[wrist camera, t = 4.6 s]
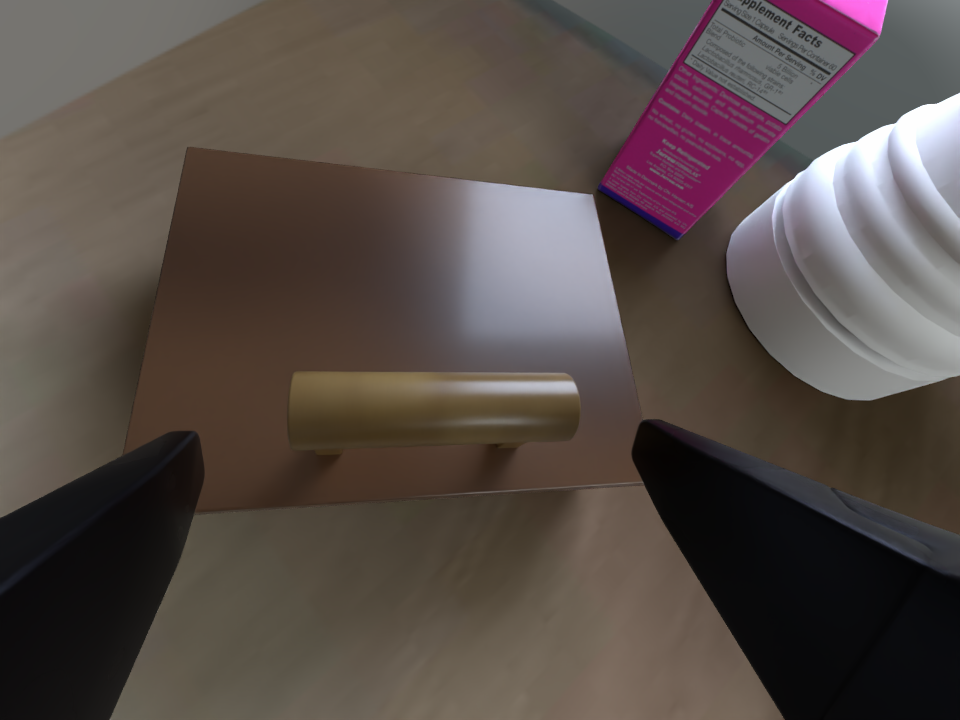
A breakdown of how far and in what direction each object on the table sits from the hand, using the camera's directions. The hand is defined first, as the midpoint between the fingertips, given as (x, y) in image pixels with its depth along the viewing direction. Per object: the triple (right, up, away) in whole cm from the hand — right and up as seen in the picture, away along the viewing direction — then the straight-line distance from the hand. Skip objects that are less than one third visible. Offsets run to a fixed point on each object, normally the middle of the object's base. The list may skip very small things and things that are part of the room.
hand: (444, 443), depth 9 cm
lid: (-1, +3, +6) cm, 7 cm away
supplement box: (+11, +12, +18) cm, 24 cm away
